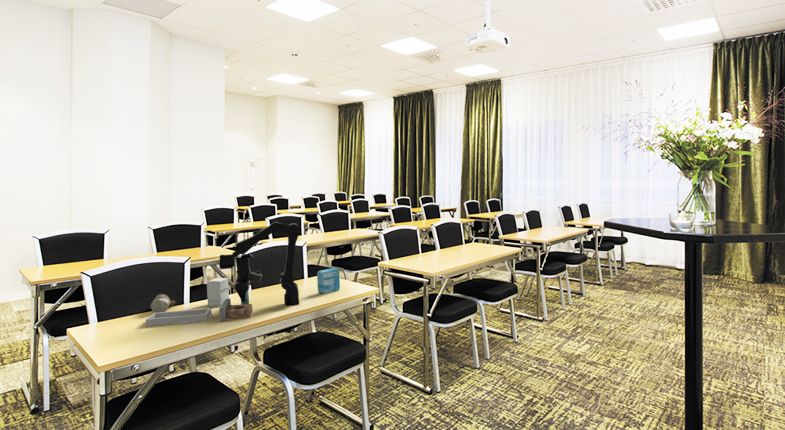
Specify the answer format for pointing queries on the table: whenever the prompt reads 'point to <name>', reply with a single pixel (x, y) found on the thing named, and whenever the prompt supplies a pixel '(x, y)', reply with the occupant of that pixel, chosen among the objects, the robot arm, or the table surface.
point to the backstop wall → (224, 309)
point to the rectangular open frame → (179, 317)
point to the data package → (328, 280)
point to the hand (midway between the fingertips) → (244, 299)
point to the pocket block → (239, 311)
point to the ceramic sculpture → (161, 303)
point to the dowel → (246, 298)
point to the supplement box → (217, 291)
